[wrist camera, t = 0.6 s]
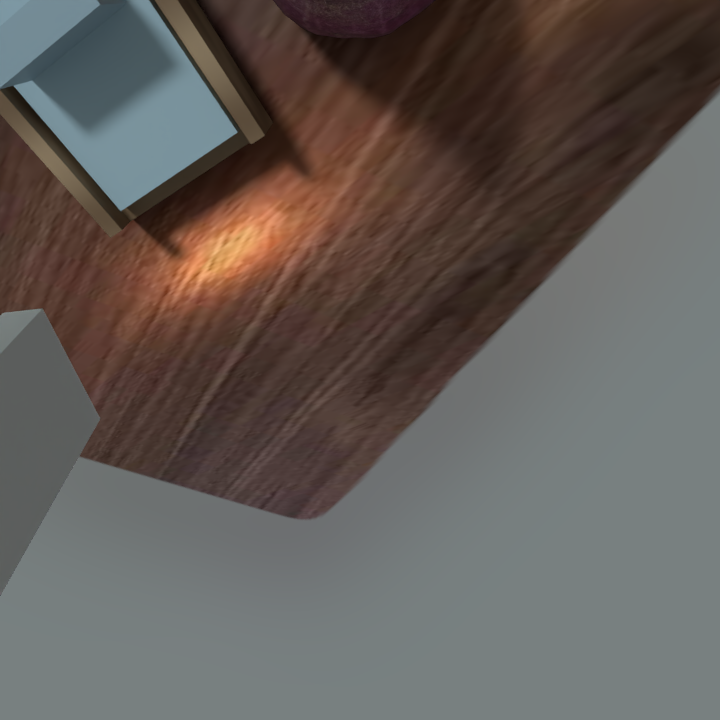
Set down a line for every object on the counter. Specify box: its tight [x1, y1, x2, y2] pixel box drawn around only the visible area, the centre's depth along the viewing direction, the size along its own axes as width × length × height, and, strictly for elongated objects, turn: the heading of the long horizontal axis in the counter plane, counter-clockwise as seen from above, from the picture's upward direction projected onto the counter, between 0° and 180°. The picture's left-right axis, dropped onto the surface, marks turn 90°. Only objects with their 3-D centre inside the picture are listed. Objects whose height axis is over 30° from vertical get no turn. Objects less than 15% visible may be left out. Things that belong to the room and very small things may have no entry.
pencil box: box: [0, 0, 273, 238], centre depth 27 cm, size 16×11×3 cm
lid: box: [0, 0, 240, 211], centre depth 25 cm, size 14×8×4 cm, turn 30°
